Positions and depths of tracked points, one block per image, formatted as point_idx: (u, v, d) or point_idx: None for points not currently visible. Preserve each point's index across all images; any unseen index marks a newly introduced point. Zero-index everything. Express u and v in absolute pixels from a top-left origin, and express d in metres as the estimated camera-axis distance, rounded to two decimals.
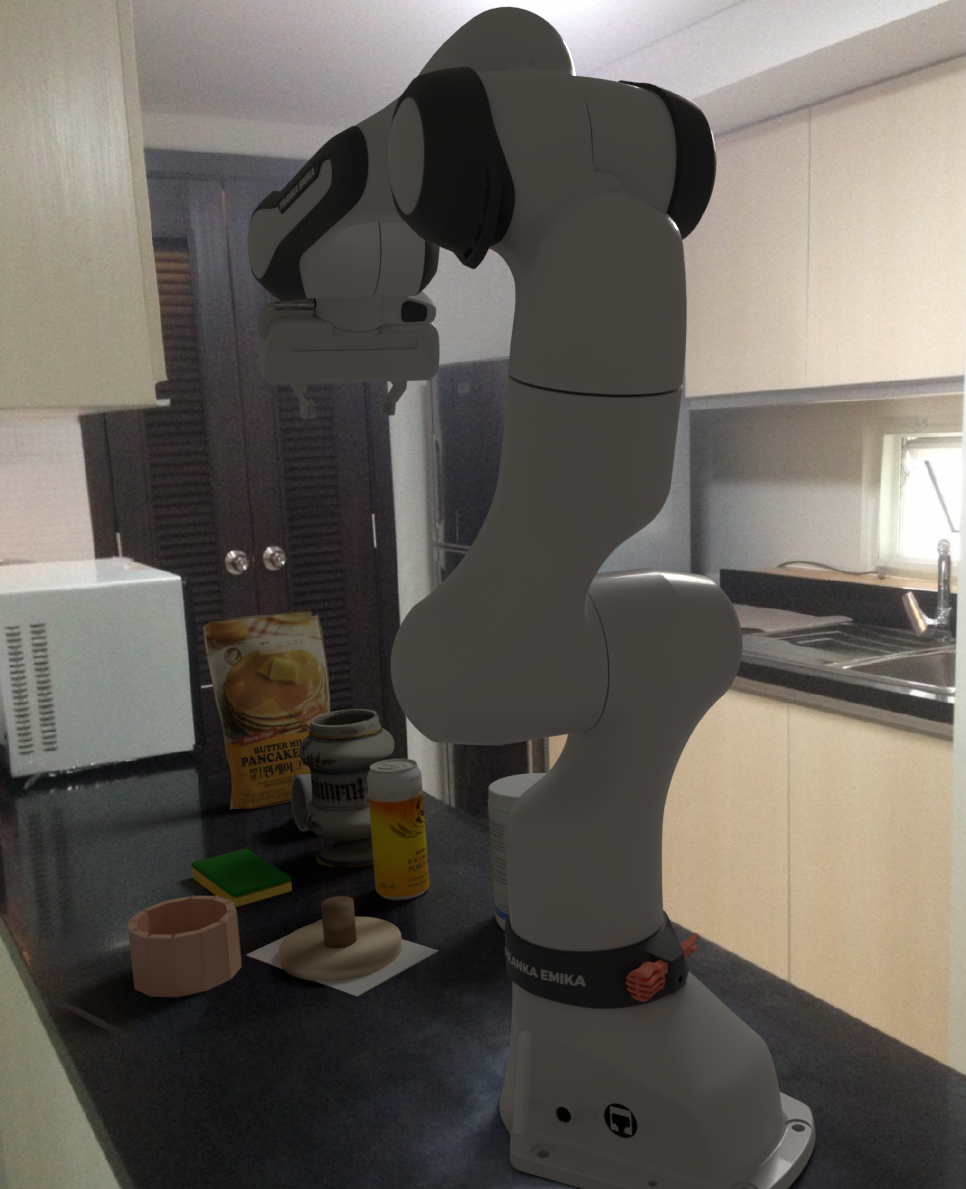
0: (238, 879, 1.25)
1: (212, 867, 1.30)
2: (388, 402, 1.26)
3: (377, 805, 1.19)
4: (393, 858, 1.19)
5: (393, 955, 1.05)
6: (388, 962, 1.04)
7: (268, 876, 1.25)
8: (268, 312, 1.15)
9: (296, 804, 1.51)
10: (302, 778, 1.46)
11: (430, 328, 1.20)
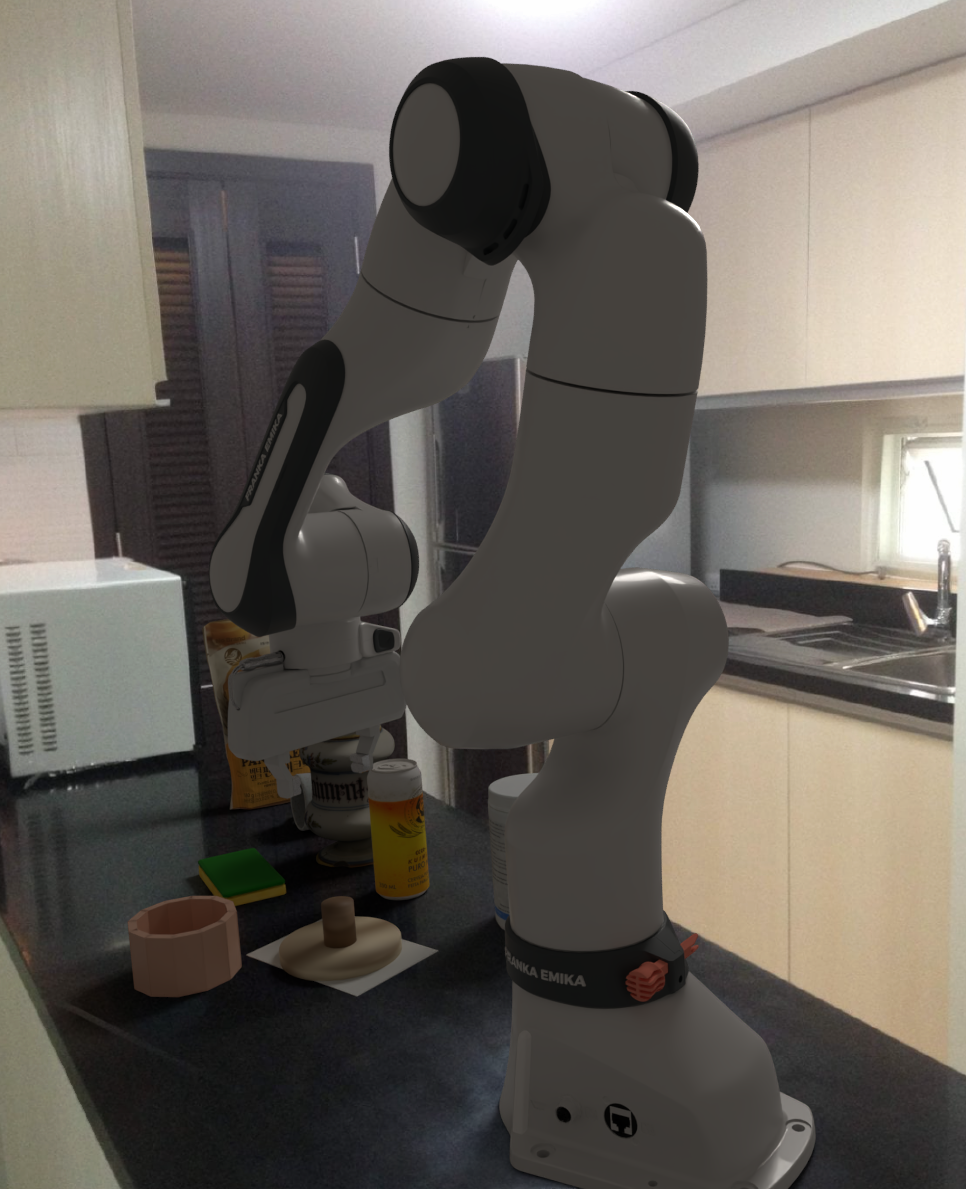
0: (234, 880, 1.25)
1: (215, 865, 1.30)
2: (365, 755, 1.09)
3: (377, 805, 1.19)
4: (393, 858, 1.19)
5: (393, 955, 1.05)
6: (388, 962, 1.04)
7: (263, 878, 1.25)
8: (240, 675, 0.97)
9: (295, 803, 1.51)
10: (301, 777, 1.46)
11: (396, 657, 1.09)
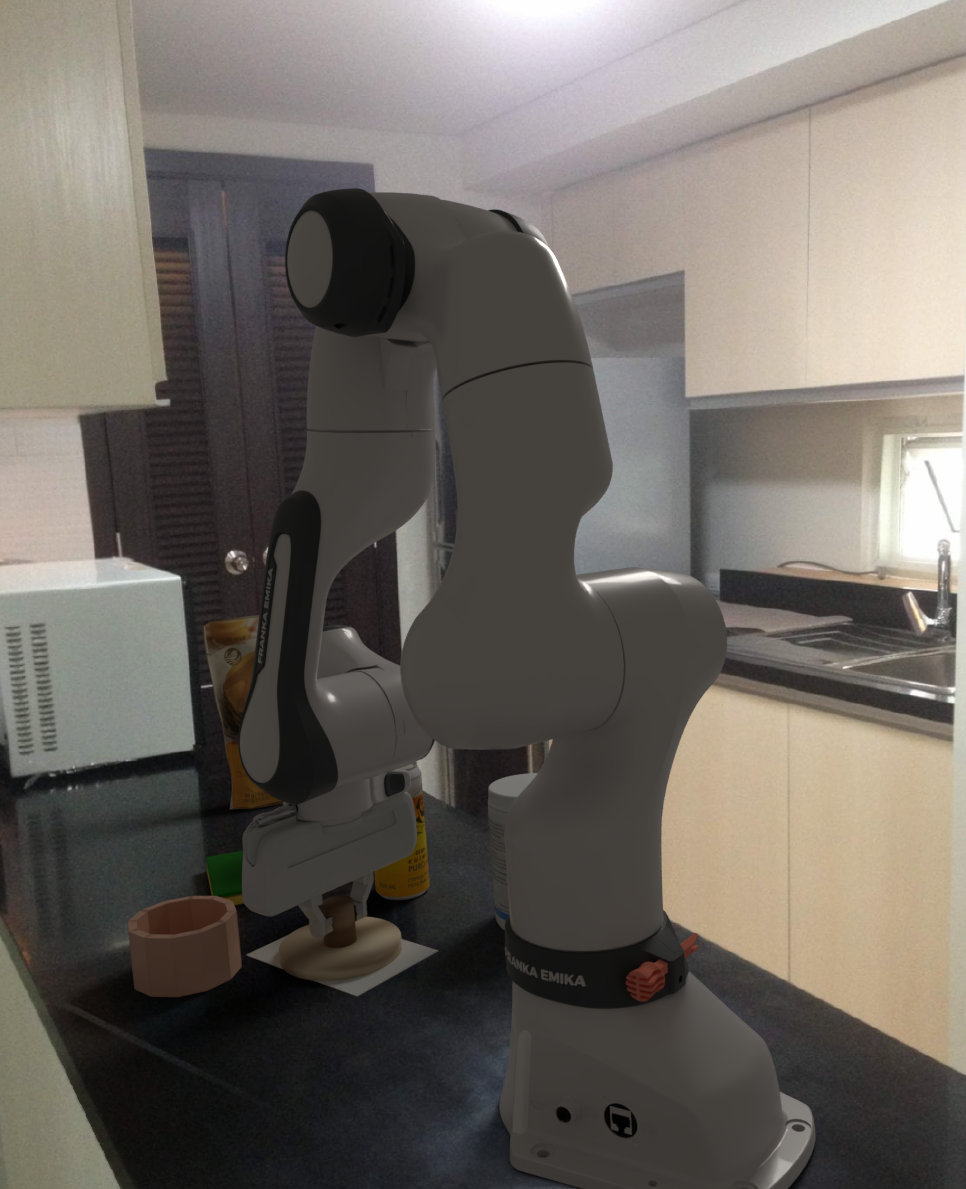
0: (229, 880, 1.25)
1: (218, 864, 1.31)
2: (358, 903, 1.08)
3: None
4: None
5: (393, 954, 1.05)
6: (388, 962, 1.04)
7: None
8: (255, 832, 0.98)
9: None
10: None
11: (406, 797, 1.10)
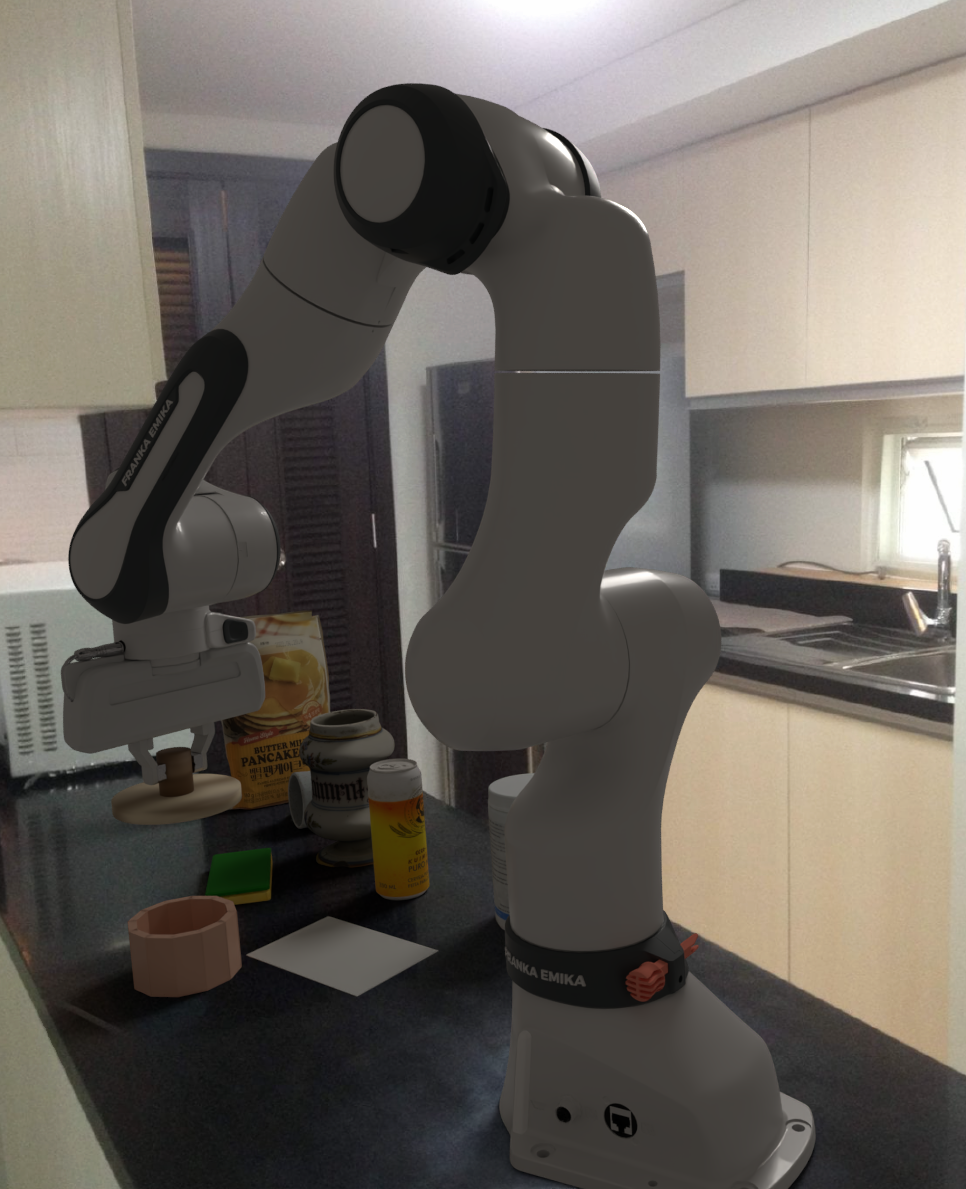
0: (225, 880, 1.25)
1: (221, 863, 1.31)
2: (197, 754, 1.05)
3: (377, 805, 1.19)
4: (393, 858, 1.19)
5: (227, 803, 1.01)
6: (220, 809, 1.01)
7: (251, 881, 1.24)
8: (74, 666, 0.95)
9: (293, 801, 1.52)
10: (299, 775, 1.47)
11: (251, 648, 1.07)
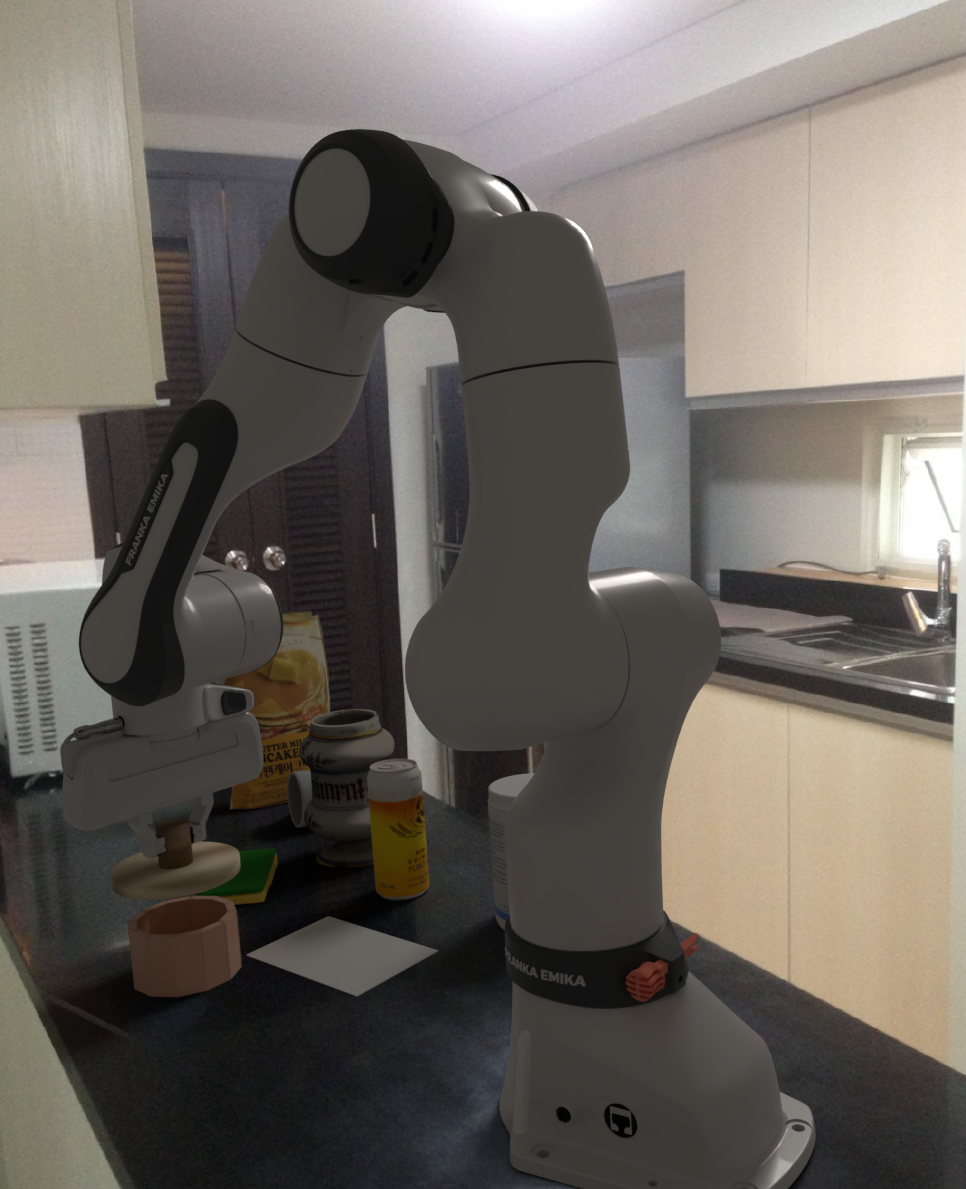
0: None
1: None
2: (196, 825, 1.05)
3: (377, 805, 1.19)
4: (393, 858, 1.19)
5: (226, 875, 1.02)
6: (220, 882, 1.01)
7: (247, 882, 1.24)
8: (73, 744, 0.95)
9: (292, 801, 1.52)
10: (298, 775, 1.48)
11: (250, 718, 1.07)
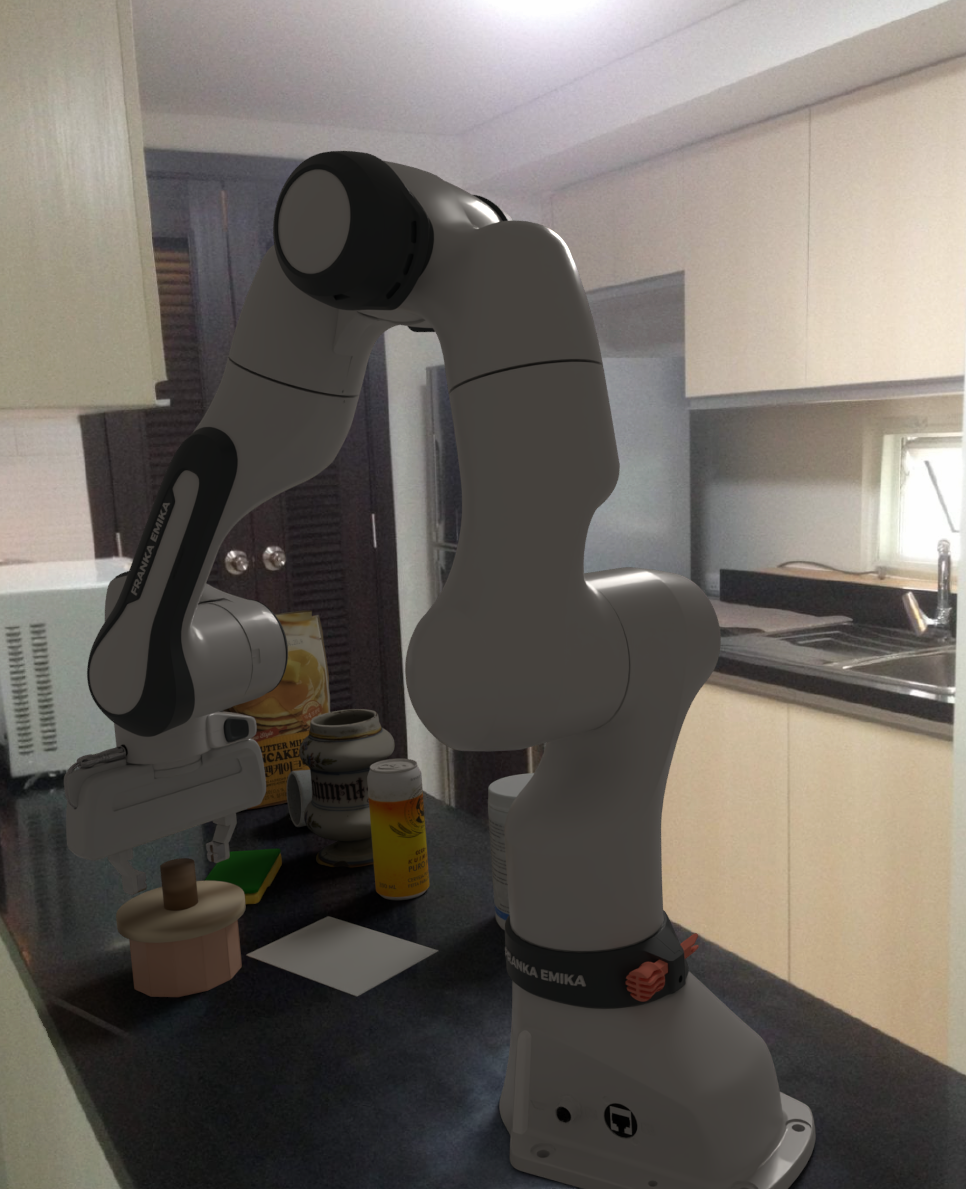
0: (220, 880, 1.25)
1: (227, 861, 1.31)
2: (220, 844, 1.07)
3: (378, 805, 1.19)
4: (393, 858, 1.19)
5: (231, 917, 1.02)
6: (225, 924, 1.01)
7: (243, 883, 1.24)
8: (77, 774, 0.95)
9: (291, 800, 1.53)
10: (297, 774, 1.48)
11: (252, 744, 1.08)
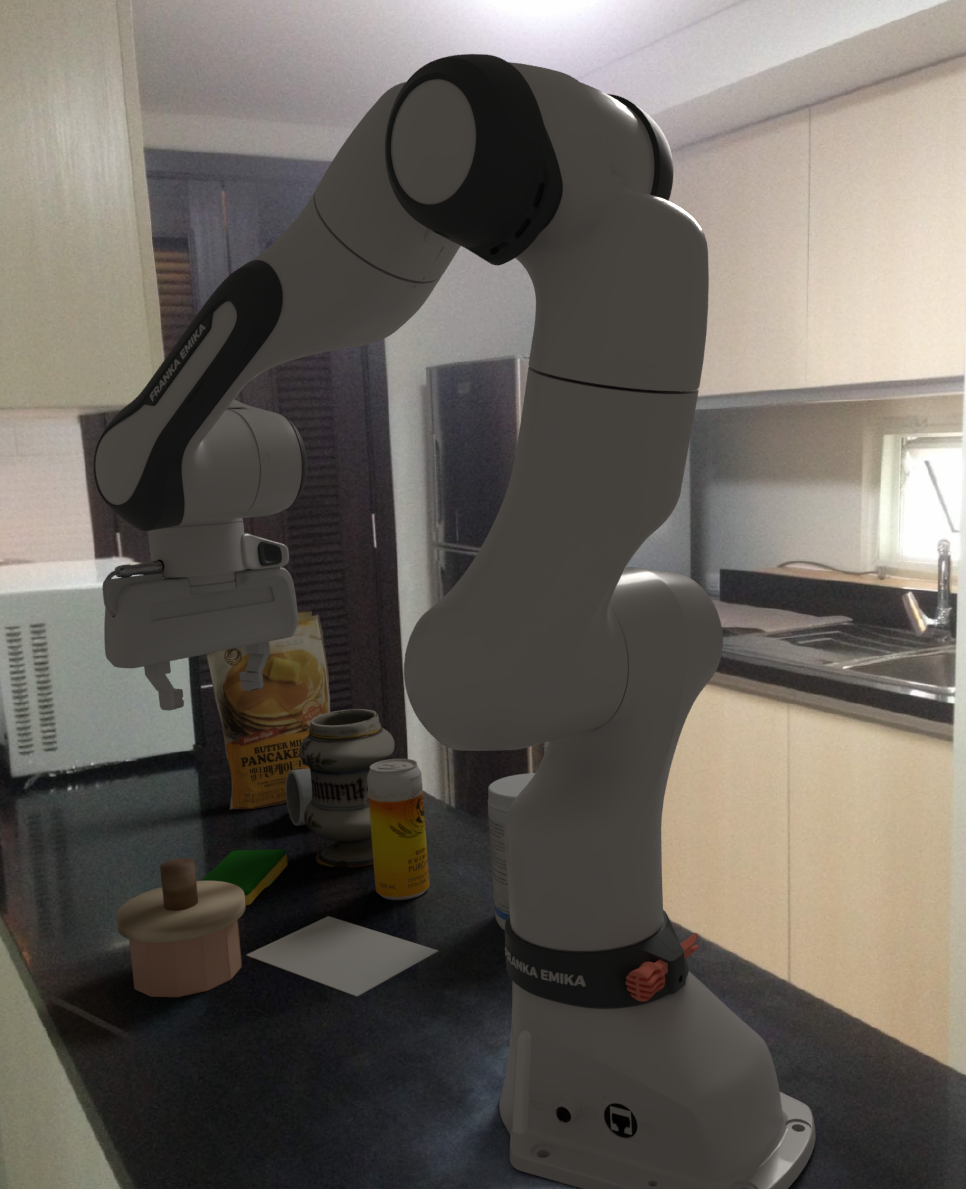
0: (217, 879, 1.25)
1: (231, 860, 1.32)
2: (254, 672, 1.07)
3: (377, 805, 1.19)
4: (393, 858, 1.19)
5: (231, 917, 1.02)
6: (225, 924, 1.01)
7: (237, 884, 1.23)
8: (115, 581, 0.96)
9: (290, 799, 1.53)
10: (296, 773, 1.49)
11: (285, 573, 1.08)
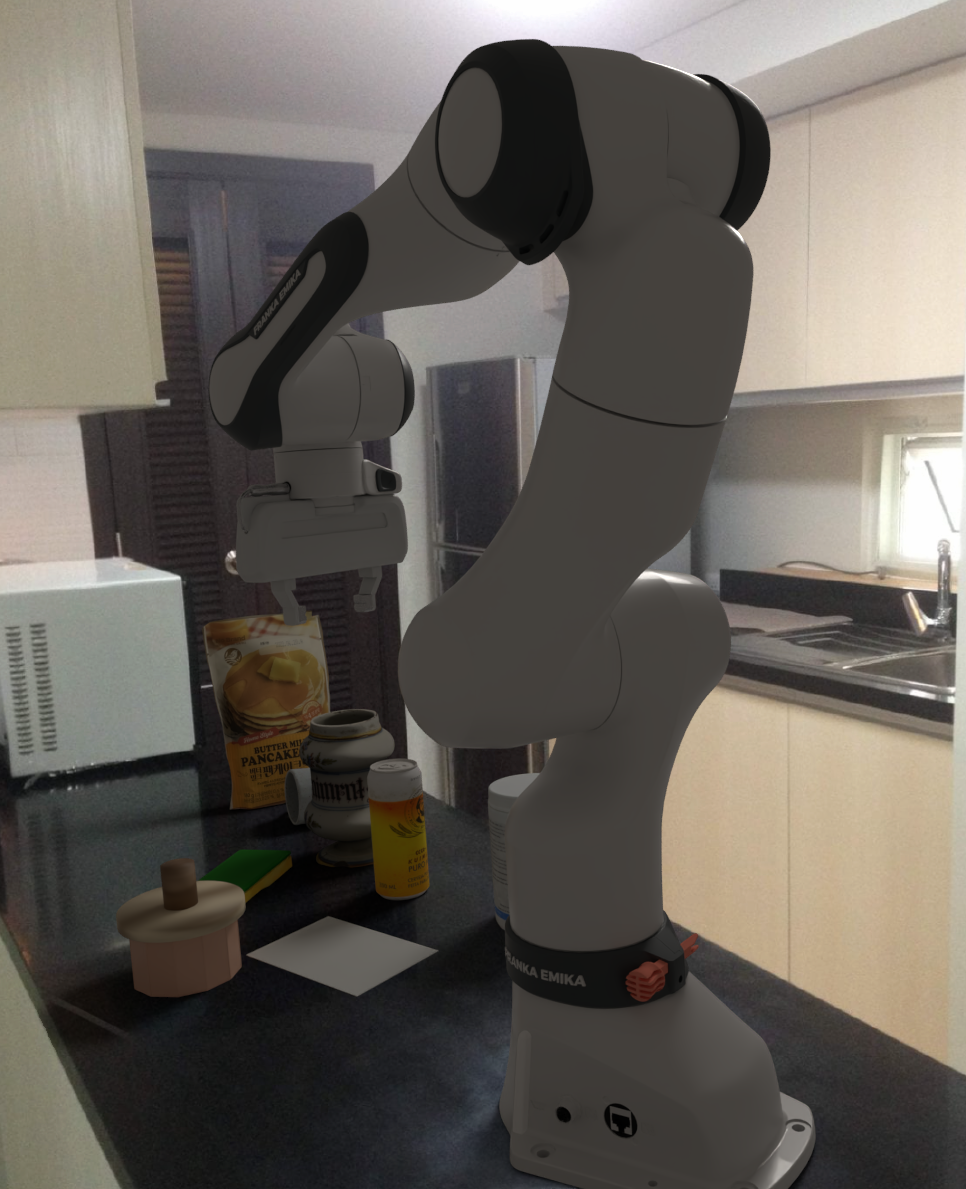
0: (215, 879, 1.26)
1: (234, 859, 1.32)
2: (367, 595, 1.12)
3: (378, 805, 1.19)
4: (394, 858, 1.19)
5: (231, 917, 1.02)
6: (225, 924, 1.01)
7: None
8: (248, 499, 1.01)
9: (289, 798, 1.54)
10: (295, 772, 1.49)
11: (398, 500, 1.13)
